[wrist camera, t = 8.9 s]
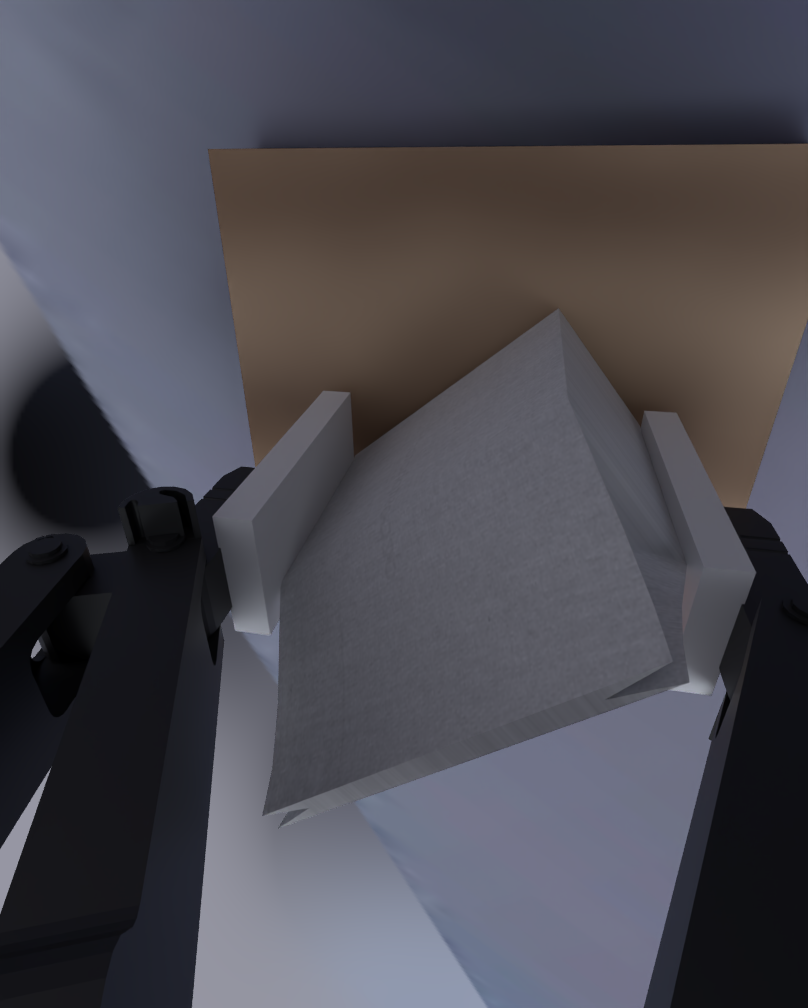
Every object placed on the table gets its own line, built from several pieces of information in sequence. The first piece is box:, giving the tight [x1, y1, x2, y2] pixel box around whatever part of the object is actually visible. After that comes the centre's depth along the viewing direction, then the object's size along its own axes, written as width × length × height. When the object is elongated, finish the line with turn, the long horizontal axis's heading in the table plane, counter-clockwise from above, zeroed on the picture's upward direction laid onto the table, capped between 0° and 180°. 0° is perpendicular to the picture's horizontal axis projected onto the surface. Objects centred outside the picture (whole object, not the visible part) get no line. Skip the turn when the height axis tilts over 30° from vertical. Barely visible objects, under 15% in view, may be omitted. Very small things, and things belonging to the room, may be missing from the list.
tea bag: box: [262, 308, 690, 828], centre depth 12 cm, size 4×7×10 cm, turn 130°
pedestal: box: [208, 144, 808, 509], centre depth 18 cm, size 14×14×3 cm
